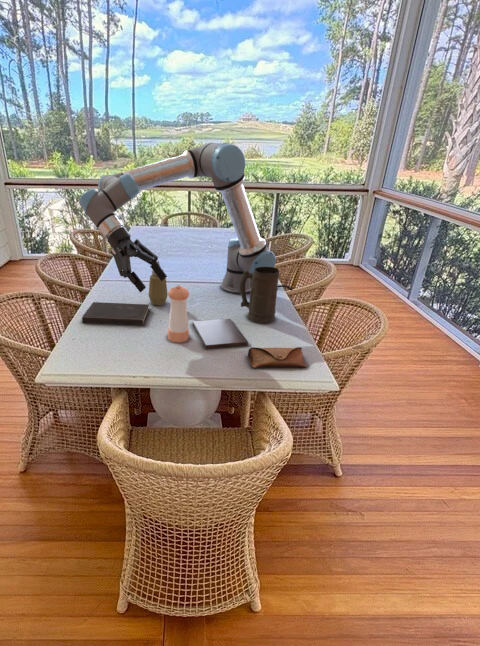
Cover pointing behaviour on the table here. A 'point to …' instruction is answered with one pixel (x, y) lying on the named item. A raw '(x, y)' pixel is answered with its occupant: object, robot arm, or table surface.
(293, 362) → the sunglasses case
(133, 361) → the table surface
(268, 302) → the beer stein
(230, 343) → the serving board
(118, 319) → the hardcover book
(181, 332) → the pepper shaker
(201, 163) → the robot arm
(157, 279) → the squeeze bottle
